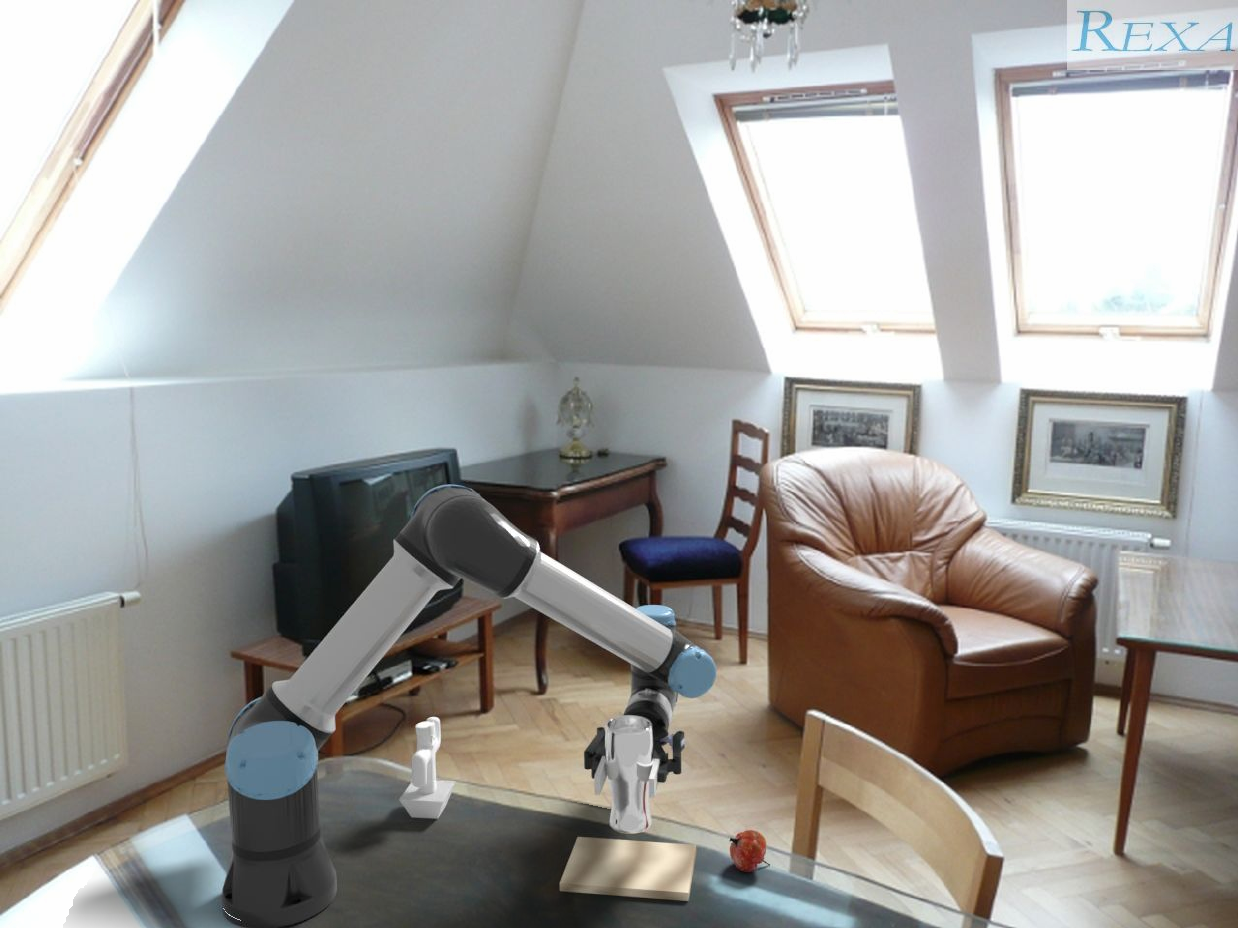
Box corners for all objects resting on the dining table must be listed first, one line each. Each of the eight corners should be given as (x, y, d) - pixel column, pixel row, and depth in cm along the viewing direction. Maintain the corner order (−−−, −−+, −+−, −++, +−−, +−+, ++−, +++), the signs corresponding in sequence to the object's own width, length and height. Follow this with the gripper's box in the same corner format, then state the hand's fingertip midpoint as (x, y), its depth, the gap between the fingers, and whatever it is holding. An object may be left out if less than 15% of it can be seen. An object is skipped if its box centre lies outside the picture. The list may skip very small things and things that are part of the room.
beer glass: (650, 837, 145) (648, 735, 142) (601, 833, 146) (599, 732, 144) (658, 813, 151) (657, 715, 149) (611, 809, 153) (609, 712, 151)
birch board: (559, 890, 145) (559, 882, 145) (577, 843, 158) (577, 836, 157) (688, 900, 142) (688, 892, 142) (696, 852, 155) (696, 844, 155)
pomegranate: (756, 865, 154) (715, 838, 153) (780, 839, 153) (739, 811, 152) (760, 890, 149) (718, 862, 148) (785, 863, 147) (743, 835, 146)
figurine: (397, 824, 164) (393, 734, 162) (416, 796, 174) (413, 711, 171) (441, 826, 163) (438, 736, 161) (458, 799, 173) (455, 713, 170)
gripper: (584, 696, 166) (553, 757, 144) (708, 701, 163) (696, 764, 141) (585, 740, 167) (554, 808, 145) (708, 746, 164) (696, 816, 142)
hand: (624, 786), depth 143 cm, fingers closed on beer glass, 7 cm apart
